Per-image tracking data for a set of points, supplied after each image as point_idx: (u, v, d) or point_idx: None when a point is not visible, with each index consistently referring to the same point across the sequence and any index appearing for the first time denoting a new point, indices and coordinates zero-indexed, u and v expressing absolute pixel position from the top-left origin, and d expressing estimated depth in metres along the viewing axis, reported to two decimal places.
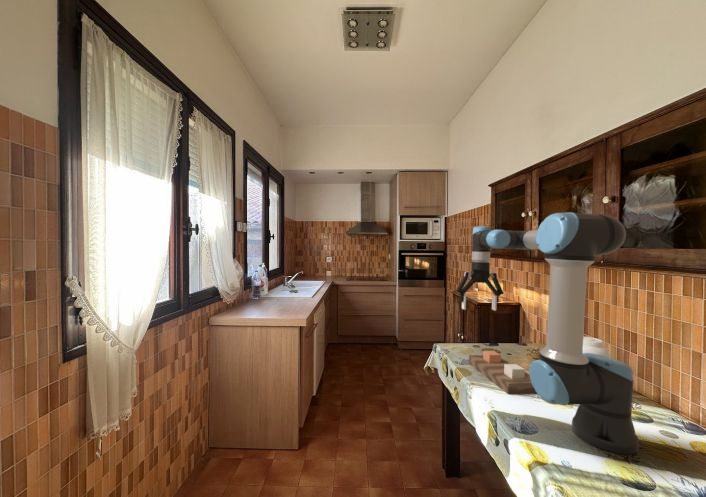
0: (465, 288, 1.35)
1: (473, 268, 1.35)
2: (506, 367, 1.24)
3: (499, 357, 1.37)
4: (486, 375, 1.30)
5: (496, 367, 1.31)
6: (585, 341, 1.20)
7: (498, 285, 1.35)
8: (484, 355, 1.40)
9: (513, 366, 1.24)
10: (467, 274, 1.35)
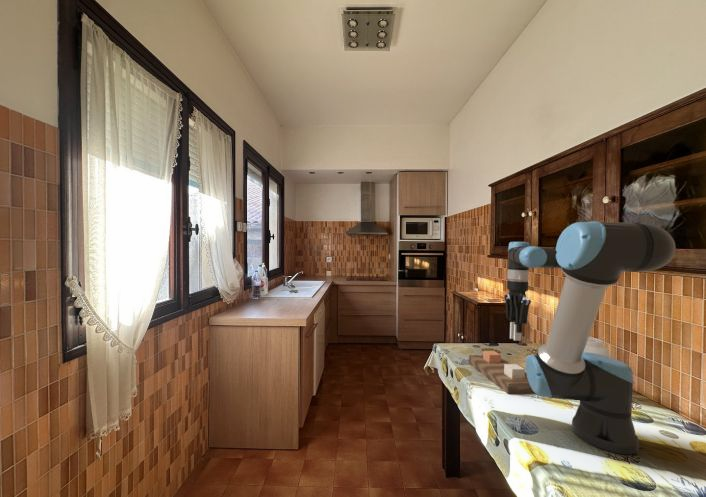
0: (509, 314, 1.25)
1: None
2: (506, 367, 1.24)
3: (499, 357, 1.37)
4: (486, 375, 1.30)
5: (496, 367, 1.31)
6: None
7: (521, 313, 1.18)
8: (484, 355, 1.40)
9: (513, 366, 1.24)
10: (505, 297, 1.28)
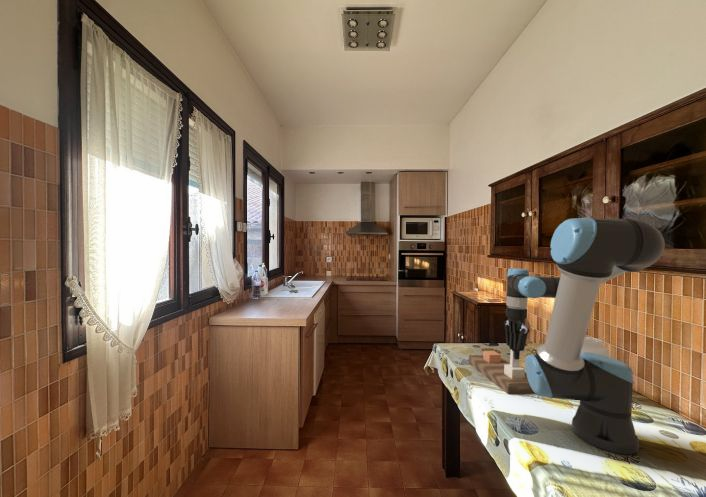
0: (509, 341, 1.25)
1: None
2: (506, 367, 1.24)
3: (499, 357, 1.37)
4: (486, 375, 1.30)
5: (496, 367, 1.31)
6: (585, 341, 1.20)
7: (518, 340, 1.19)
8: (484, 355, 1.40)
9: None
10: (504, 323, 1.28)
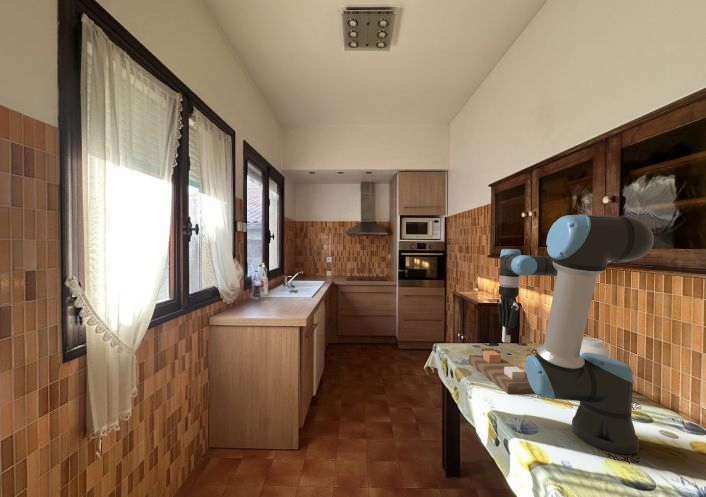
0: (502, 318, 1.31)
1: None
2: (505, 369, 1.24)
3: (499, 357, 1.37)
4: (486, 375, 1.30)
5: (496, 367, 1.31)
6: (585, 341, 1.20)
7: (510, 317, 1.25)
8: (484, 355, 1.40)
9: (513, 368, 1.24)
10: (497, 301, 1.34)
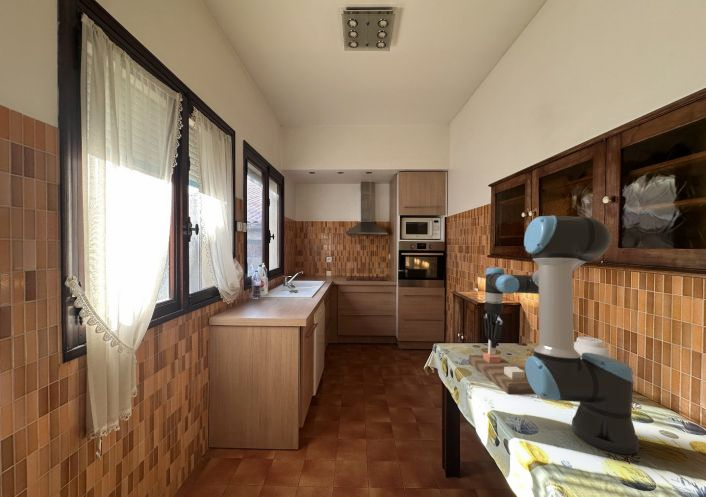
0: (487, 332, 1.41)
1: None
2: (505, 369, 1.24)
3: (499, 359, 1.37)
4: (486, 375, 1.30)
5: (496, 367, 1.31)
6: (585, 341, 1.20)
7: (495, 331, 1.35)
8: (484, 357, 1.40)
9: (513, 368, 1.24)
10: (484, 316, 1.44)
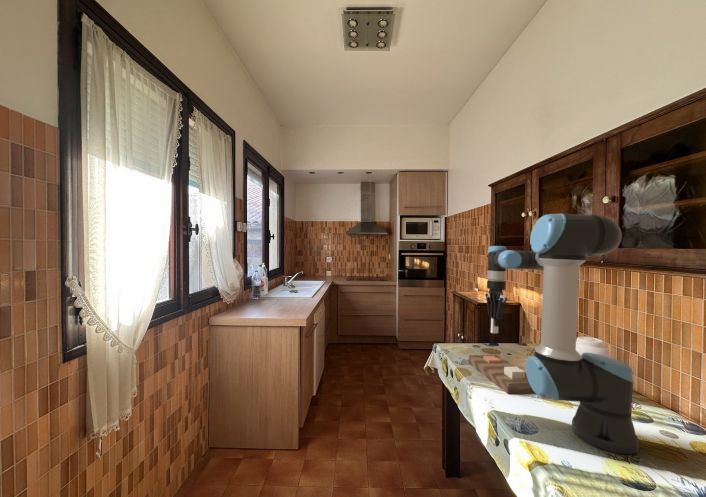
0: (490, 311, 1.40)
1: None
2: (505, 369, 1.24)
3: (499, 362, 1.37)
4: (486, 375, 1.30)
5: (496, 367, 1.31)
6: (585, 341, 1.20)
7: (497, 309, 1.34)
8: None
9: (513, 368, 1.24)
10: (486, 295, 1.44)
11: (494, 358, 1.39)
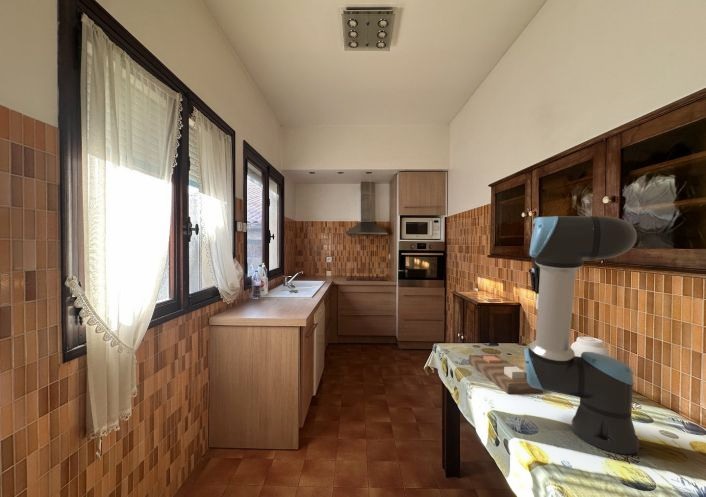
0: (535, 286, 1.32)
1: None
2: (505, 369, 1.24)
3: (499, 362, 1.37)
4: (486, 375, 1.30)
5: (496, 367, 1.31)
6: (585, 341, 1.20)
7: None
8: None
9: (513, 368, 1.24)
10: (530, 271, 1.36)
11: (494, 358, 1.39)
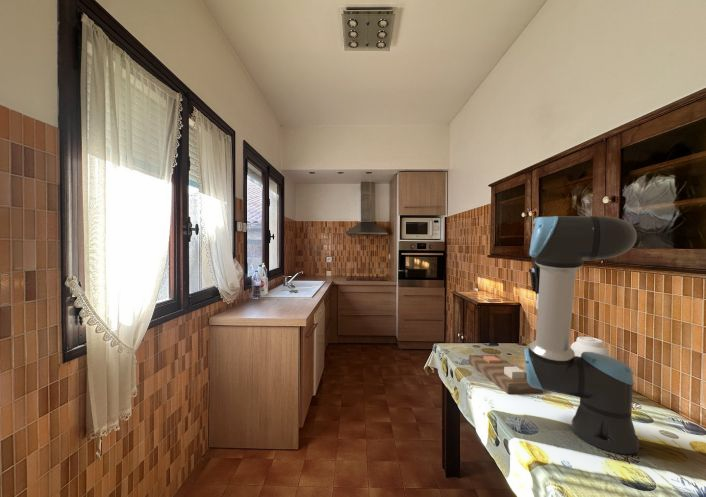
0: (535, 286, 1.32)
1: None
2: (505, 369, 1.24)
3: (499, 362, 1.37)
4: (486, 375, 1.30)
5: (496, 367, 1.31)
6: (585, 341, 1.20)
7: None
8: None
9: (513, 368, 1.24)
10: (530, 271, 1.36)
11: (494, 358, 1.39)
